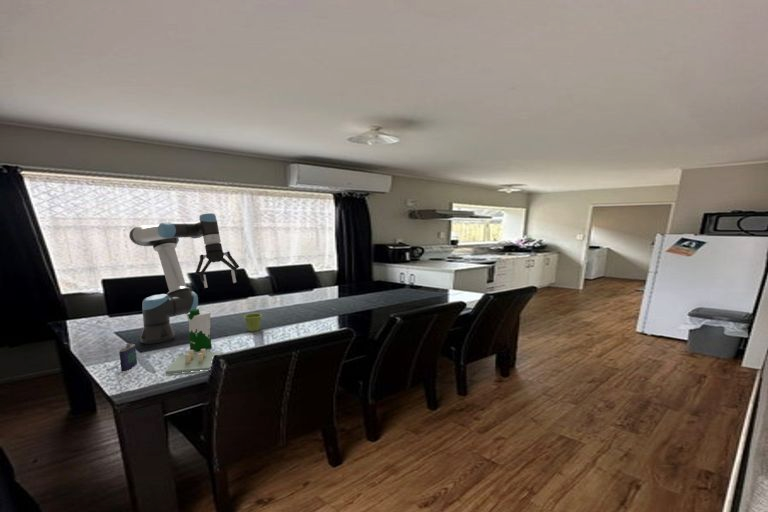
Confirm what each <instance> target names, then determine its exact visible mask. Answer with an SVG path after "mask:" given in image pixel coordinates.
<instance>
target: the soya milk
mask: <svg viewBox="0 0 768 512" xmlns="http://www.w3.org/2000/svg"><path fill="white" fill-rule="evenodd" d="M211 314H212V313H211V312H209V311H204V310H200V309H198V308H196V309H193V310H190V313H188V314H186V315H187V321H188V334H189V350H194V352H197V353H200V352H201V349H206V350H208V349H212V333H211Z"/></svg>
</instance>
